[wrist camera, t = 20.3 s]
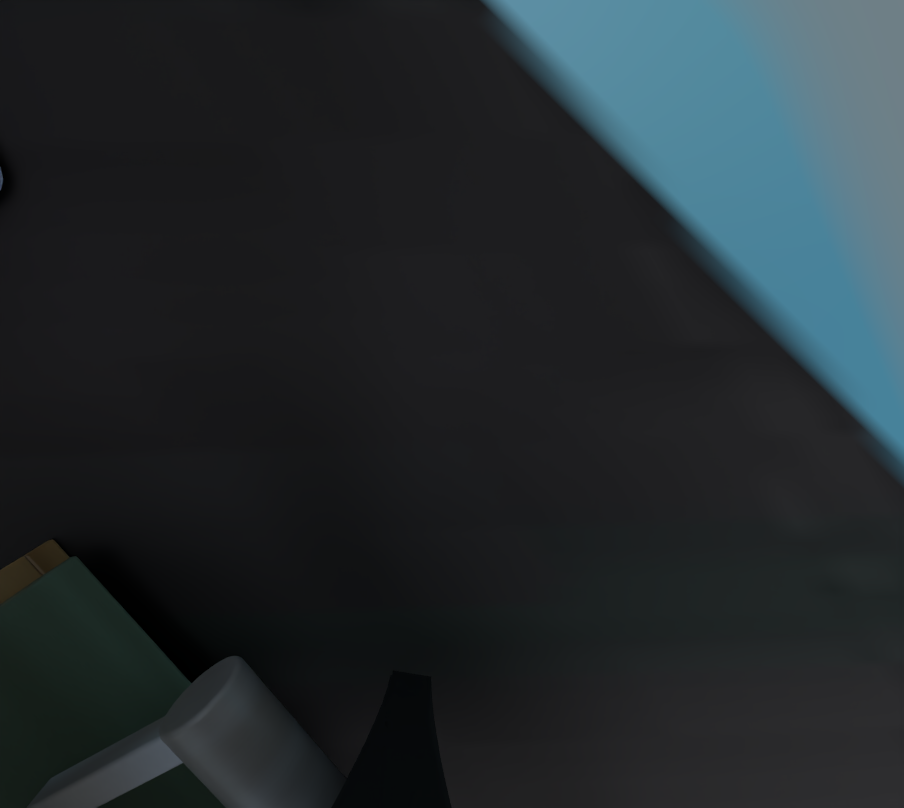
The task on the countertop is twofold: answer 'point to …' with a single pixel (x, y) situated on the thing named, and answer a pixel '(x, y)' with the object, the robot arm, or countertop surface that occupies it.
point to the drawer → (136, 715)
